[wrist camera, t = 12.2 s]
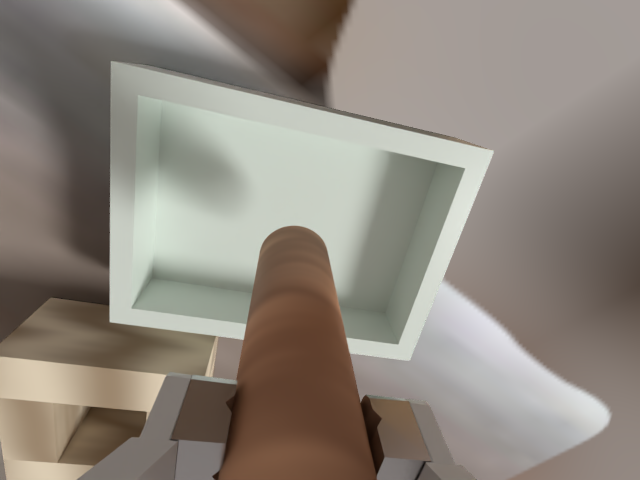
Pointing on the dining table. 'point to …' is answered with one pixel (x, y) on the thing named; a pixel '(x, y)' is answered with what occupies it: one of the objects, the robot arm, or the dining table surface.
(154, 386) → the square wooden frame
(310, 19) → the dining table surface
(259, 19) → the dining table surface
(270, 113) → the tray
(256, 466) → the dowel
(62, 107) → the dining table surface
